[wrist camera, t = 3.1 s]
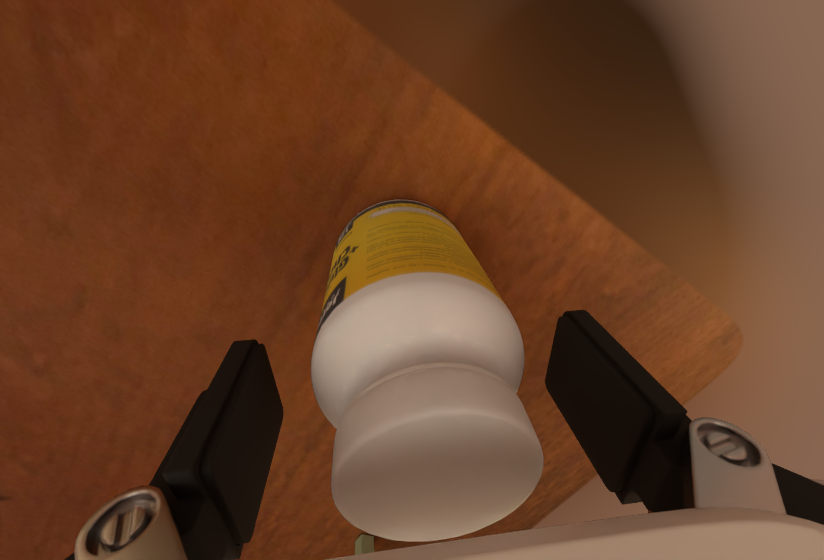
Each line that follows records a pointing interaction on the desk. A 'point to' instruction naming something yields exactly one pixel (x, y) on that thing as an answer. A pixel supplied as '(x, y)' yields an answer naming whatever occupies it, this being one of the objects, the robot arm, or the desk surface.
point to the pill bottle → (420, 381)
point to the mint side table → (364, 544)
